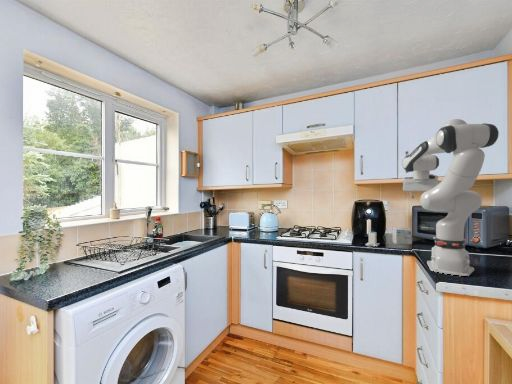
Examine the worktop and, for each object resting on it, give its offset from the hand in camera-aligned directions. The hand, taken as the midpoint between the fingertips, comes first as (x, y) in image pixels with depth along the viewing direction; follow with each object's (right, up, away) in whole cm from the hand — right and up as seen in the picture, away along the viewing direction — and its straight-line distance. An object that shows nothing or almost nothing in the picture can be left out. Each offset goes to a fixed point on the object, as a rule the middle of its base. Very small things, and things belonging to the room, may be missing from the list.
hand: (421, 198), depth 157 cm
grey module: (-23, -33, +16) cm, 43 cm away
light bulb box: (-1, -33, +20) cm, 38 cm away
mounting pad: (-23, -33, +17) cm, 44 cm away
